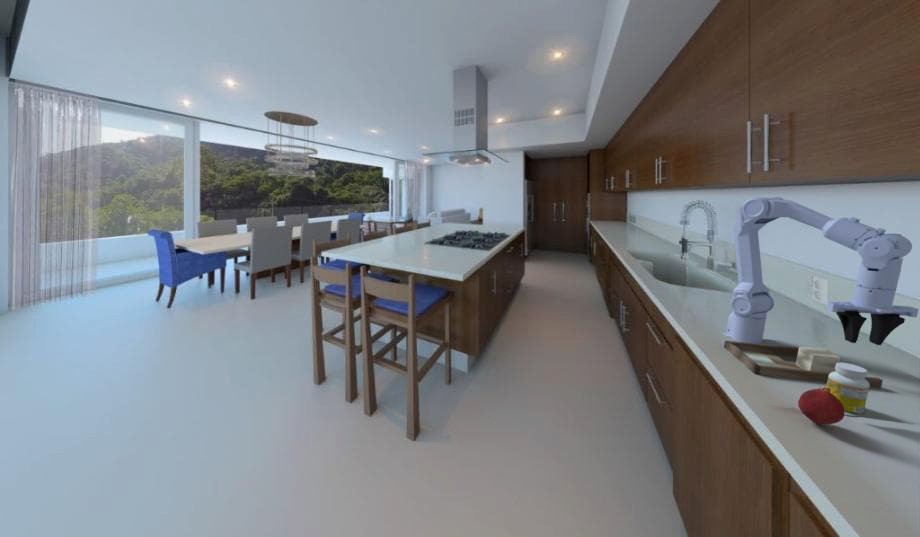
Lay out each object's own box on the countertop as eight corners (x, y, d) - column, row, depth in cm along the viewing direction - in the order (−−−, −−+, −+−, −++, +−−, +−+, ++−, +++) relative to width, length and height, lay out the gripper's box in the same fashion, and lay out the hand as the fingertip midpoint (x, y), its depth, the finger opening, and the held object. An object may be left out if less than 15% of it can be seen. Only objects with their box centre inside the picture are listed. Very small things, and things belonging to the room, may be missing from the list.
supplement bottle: (865, 422, 62) (877, 376, 60) (824, 411, 65) (834, 368, 64) (858, 408, 66) (868, 366, 64) (820, 399, 69) (828, 358, 68)
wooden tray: (723, 350, 94) (725, 340, 93) (825, 360, 86) (827, 350, 86) (753, 377, 79) (755, 366, 78) (879, 392, 72) (882, 380, 71)
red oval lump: (803, 428, 60) (811, 390, 59) (790, 411, 65) (797, 375, 64) (847, 438, 58) (856, 398, 56) (830, 419, 63) (838, 382, 61)
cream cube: (795, 364, 82) (799, 346, 82) (820, 367, 81) (824, 348, 80) (809, 374, 78) (813, 355, 77) (836, 377, 76) (840, 357, 75)
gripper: (848, 289, 72) (836, 345, 74) (939, 293, 67) (922, 353, 70) (824, 282, 78) (813, 334, 81) (905, 285, 74) (891, 340, 76)
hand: (862, 342), depth 76 cm, fingers open, 4 cm apart
